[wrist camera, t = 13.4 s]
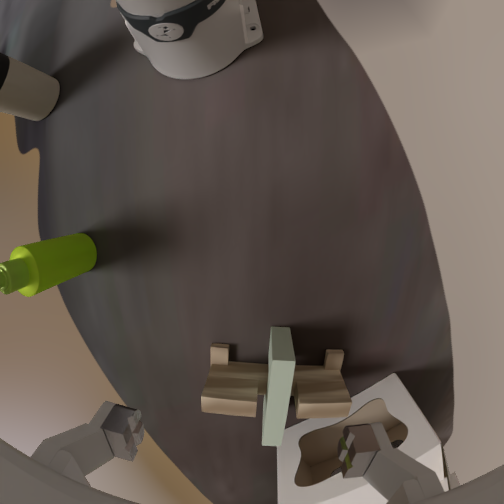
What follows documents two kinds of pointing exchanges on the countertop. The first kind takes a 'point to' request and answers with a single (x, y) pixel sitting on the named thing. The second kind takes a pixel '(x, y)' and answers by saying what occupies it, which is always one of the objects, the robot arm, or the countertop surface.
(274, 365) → the grey-green rectangular slab
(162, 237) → the countertop surface
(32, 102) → the travel mug
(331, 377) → the wooden peg bench
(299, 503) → the gable box
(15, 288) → the soap dispenser
